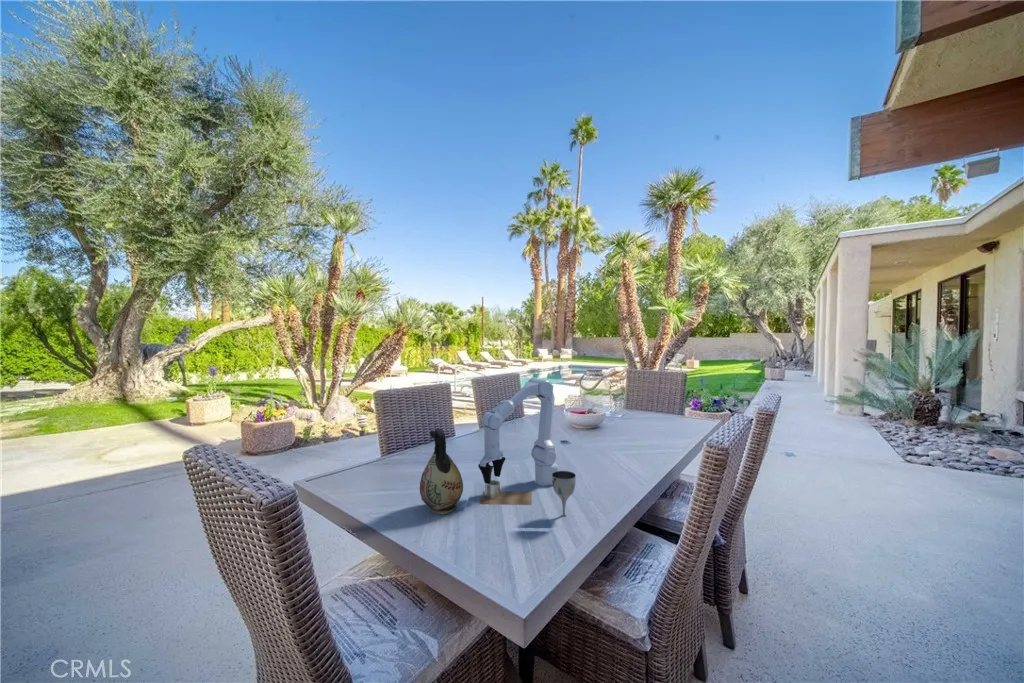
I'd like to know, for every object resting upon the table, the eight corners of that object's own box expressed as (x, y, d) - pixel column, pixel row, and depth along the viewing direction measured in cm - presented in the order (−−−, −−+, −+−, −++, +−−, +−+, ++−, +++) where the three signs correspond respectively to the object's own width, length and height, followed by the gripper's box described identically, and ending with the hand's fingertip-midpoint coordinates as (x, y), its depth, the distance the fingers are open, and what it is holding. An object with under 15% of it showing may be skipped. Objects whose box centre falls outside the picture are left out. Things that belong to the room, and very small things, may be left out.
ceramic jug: (416, 504, 148) (415, 423, 147) (457, 497, 154) (456, 420, 153) (424, 524, 132) (423, 434, 132) (469, 516, 138) (468, 430, 137)
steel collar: (502, 494, 154) (502, 481, 154) (495, 499, 149) (495, 486, 149) (489, 491, 156) (489, 479, 156) (482, 497, 151) (482, 484, 151)
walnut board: (531, 494, 156) (531, 491, 156) (531, 507, 144) (531, 504, 144) (483, 493, 157) (483, 490, 157) (479, 506, 145) (479, 504, 145)
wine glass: (570, 526, 130) (569, 480, 130) (548, 520, 135) (547, 476, 134) (579, 516, 137) (579, 473, 137) (558, 511, 141) (558, 469, 141)
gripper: (491, 450, 144) (492, 488, 144) (510, 440, 157) (510, 474, 157) (474, 448, 147) (475, 484, 148) (494, 438, 160) (494, 472, 160)
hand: (492, 479), depth 153 cm, fingers open, 7 cm apart
